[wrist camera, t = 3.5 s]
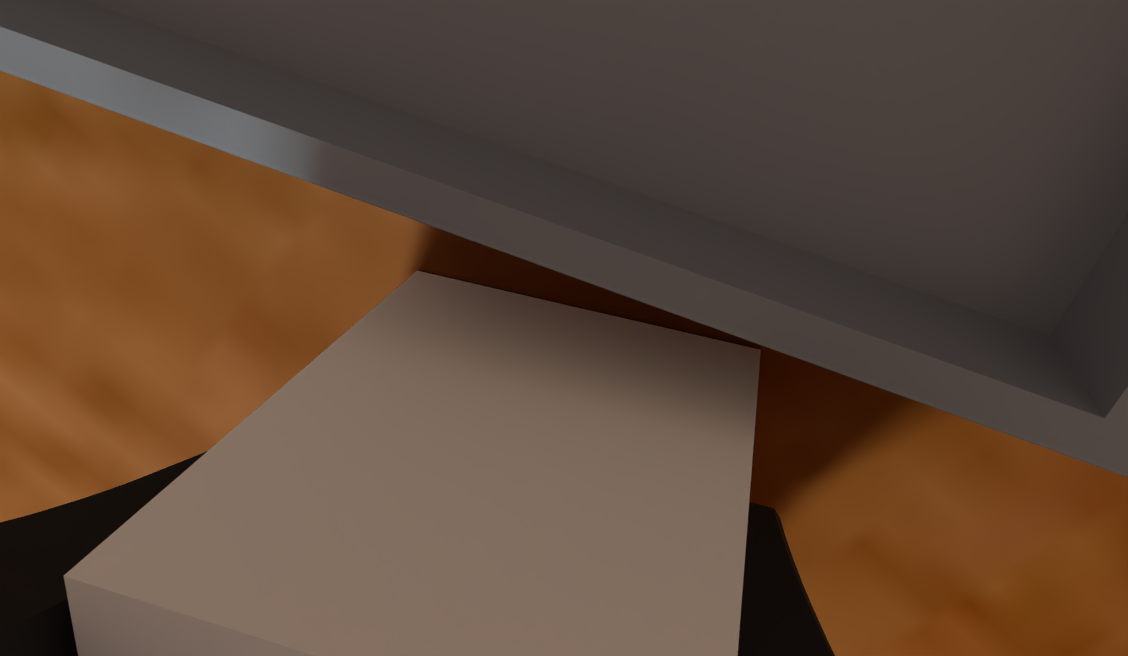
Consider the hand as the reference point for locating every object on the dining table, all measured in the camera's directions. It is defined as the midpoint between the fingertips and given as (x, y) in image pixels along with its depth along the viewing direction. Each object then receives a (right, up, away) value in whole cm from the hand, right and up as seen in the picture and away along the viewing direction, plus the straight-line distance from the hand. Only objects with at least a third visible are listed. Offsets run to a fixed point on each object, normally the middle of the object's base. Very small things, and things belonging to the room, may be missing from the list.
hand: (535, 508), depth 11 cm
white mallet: (0, -3, +3) cm, 4 cm away
